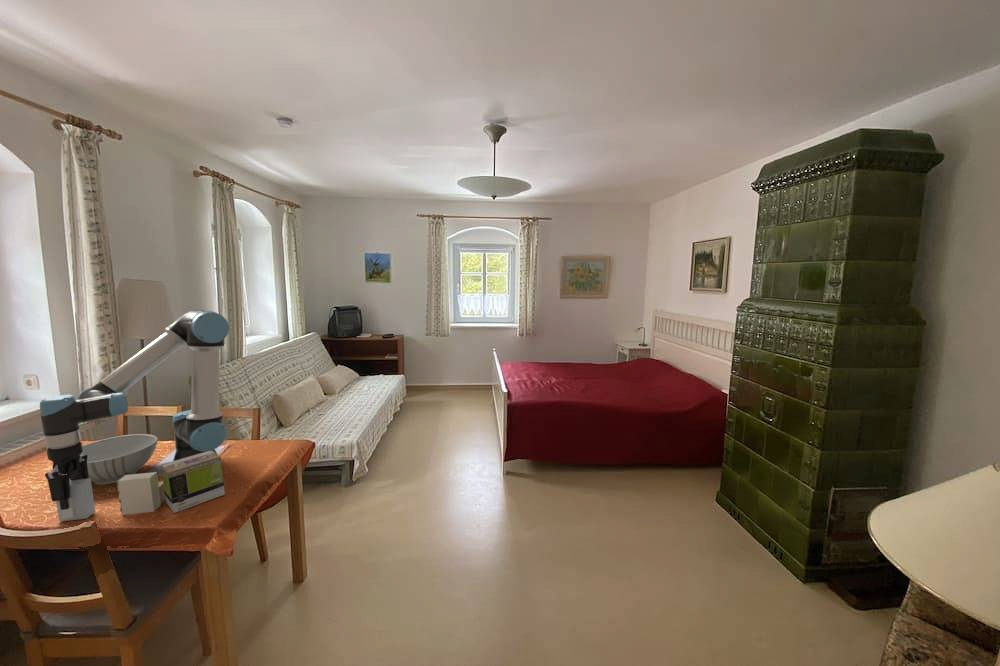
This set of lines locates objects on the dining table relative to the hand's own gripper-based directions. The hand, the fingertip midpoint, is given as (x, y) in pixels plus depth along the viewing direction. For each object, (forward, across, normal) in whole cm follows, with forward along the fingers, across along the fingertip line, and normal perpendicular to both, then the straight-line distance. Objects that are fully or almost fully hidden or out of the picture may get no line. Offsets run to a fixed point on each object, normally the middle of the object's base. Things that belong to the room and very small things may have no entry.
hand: (74, 512), depth 129 cm
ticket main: (+2, -2, +18) cm, 18 cm away
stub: (+2, 0, +1) cm, 2 cm away
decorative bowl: (+2, -29, -6) cm, 30 cm away
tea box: (+2, -3, +33) cm, 33 cm away
